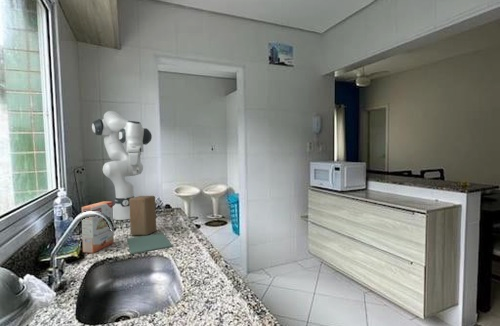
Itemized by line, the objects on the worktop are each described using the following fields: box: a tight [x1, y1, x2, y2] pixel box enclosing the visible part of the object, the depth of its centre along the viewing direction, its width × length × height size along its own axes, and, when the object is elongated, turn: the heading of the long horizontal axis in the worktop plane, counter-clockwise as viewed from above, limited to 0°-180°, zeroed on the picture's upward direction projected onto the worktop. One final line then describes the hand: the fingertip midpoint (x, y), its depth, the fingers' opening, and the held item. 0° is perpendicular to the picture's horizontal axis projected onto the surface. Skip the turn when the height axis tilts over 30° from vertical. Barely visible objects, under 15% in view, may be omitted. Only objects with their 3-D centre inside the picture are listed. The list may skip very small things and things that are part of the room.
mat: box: [126, 232, 173, 255], centre depth 130 cm, size 22×18×1 cm
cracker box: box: [81, 200, 115, 254], centre depth 124 cm, size 14×6×21 cm, turn 171°
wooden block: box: [129, 195, 157, 236], centre depth 145 cm, size 10×10×20 cm
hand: (136, 173), depth 152 cm, fingers open, 8 cm apart
